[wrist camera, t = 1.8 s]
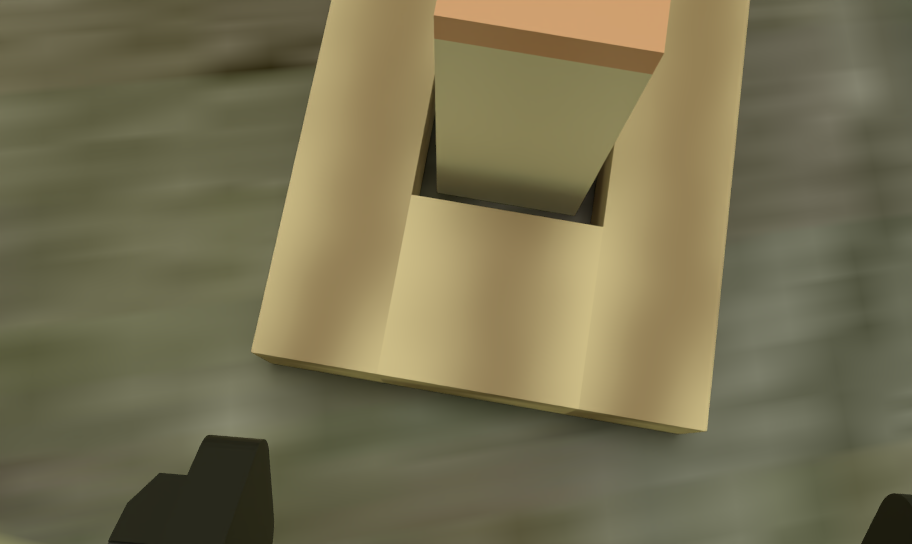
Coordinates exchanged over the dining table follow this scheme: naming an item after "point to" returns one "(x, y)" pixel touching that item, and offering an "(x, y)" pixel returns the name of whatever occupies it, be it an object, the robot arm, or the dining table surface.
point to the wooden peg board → (508, 237)
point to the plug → (537, 93)
